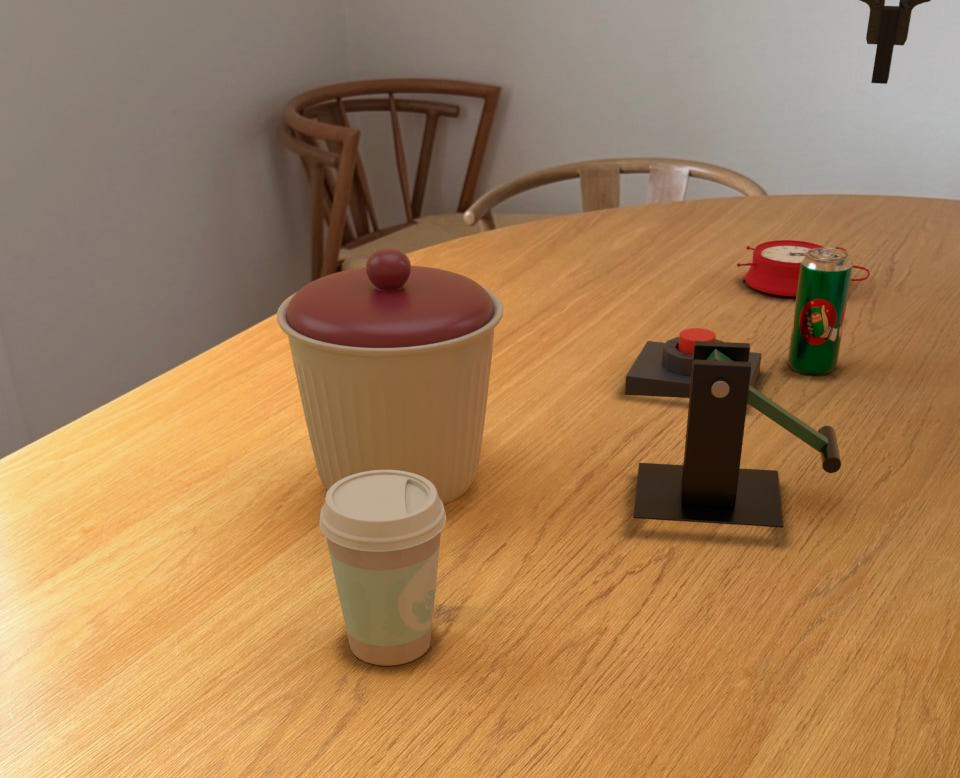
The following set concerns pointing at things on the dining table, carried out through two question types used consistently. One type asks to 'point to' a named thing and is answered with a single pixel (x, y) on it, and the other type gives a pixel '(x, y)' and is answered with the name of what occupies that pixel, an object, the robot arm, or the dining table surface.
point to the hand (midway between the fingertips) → (879, 80)
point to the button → (694, 339)
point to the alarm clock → (780, 266)
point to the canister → (394, 369)
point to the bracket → (712, 453)
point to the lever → (794, 424)
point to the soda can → (819, 311)
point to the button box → (669, 371)
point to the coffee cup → (385, 561)
